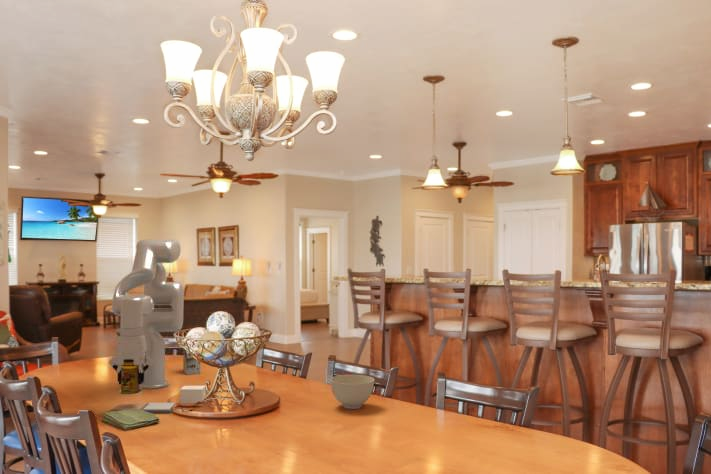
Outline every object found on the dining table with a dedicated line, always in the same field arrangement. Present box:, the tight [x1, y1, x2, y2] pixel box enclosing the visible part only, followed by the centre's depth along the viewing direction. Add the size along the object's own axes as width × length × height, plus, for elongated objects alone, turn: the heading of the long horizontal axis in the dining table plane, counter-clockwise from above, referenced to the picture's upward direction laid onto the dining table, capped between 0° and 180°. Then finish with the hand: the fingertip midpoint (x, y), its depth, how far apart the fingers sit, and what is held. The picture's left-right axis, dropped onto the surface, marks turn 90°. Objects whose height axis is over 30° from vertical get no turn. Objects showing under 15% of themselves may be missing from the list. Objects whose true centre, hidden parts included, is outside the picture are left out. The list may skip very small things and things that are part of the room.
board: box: [110, 402, 178, 414], centre depth 225 cm, size 10×20×1 cm, turn 92°
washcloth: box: [101, 408, 161, 431], centre depth 210 cm, size 13×18×3 cm
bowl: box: [330, 374, 375, 410], centre depth 232 cm, size 16×16×10 cm
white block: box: [179, 385, 207, 404], centre depth 234 cm, size 6×8×6 cm
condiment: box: [118, 359, 143, 396], centre depth 225 cm, size 7×8×12 cm
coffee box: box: [182, 349, 201, 375], centre depth 290 cm, size 9×6×16 cm
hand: (130, 383), depth 225 cm, fingers closed on condiment, 6 cm apart
